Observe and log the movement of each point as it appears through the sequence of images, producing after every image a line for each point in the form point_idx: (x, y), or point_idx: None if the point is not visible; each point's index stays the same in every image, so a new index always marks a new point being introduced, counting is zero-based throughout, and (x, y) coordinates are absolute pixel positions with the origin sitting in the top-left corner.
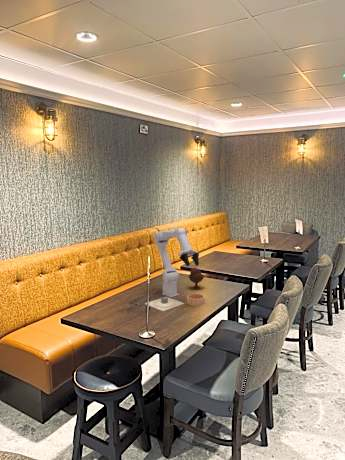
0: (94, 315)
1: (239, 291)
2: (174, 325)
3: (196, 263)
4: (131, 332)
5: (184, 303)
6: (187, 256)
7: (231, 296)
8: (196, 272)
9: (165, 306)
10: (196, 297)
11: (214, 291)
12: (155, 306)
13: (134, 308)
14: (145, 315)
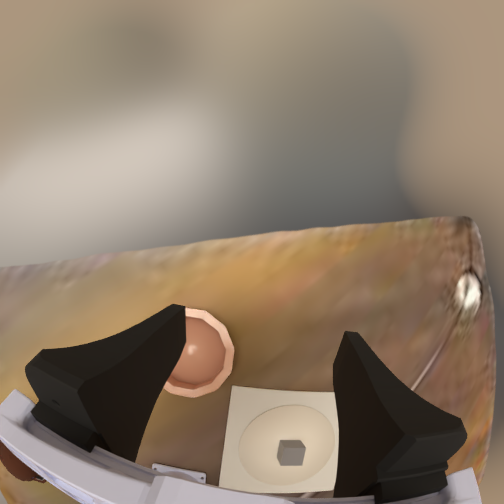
0: None
1: (6, 267)
2: (407, 274)
3: (175, 342)
4: (481, 330)
5: (234, 386)
6: (388, 406)
7: (51, 265)
8: None
9: (321, 415)
10: None
11: (37, 353)
12: (334, 446)
13: None
14: None
